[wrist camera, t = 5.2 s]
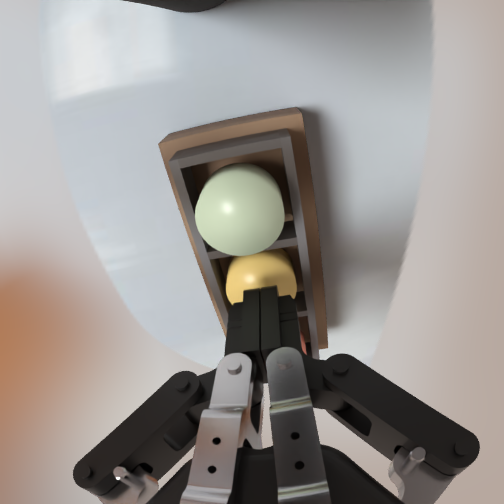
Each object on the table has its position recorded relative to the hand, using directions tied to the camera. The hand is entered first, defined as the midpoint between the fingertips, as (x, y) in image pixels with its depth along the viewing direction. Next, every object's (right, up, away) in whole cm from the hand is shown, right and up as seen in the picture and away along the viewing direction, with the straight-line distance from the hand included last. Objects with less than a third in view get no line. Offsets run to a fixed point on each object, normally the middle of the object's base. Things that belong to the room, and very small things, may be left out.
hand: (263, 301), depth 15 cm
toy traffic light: (0, +3, +4) cm, 5 cm away
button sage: (-1, +4, -1) cm, 5 cm away
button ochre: (0, +1, +2) cm, 3 cm away
